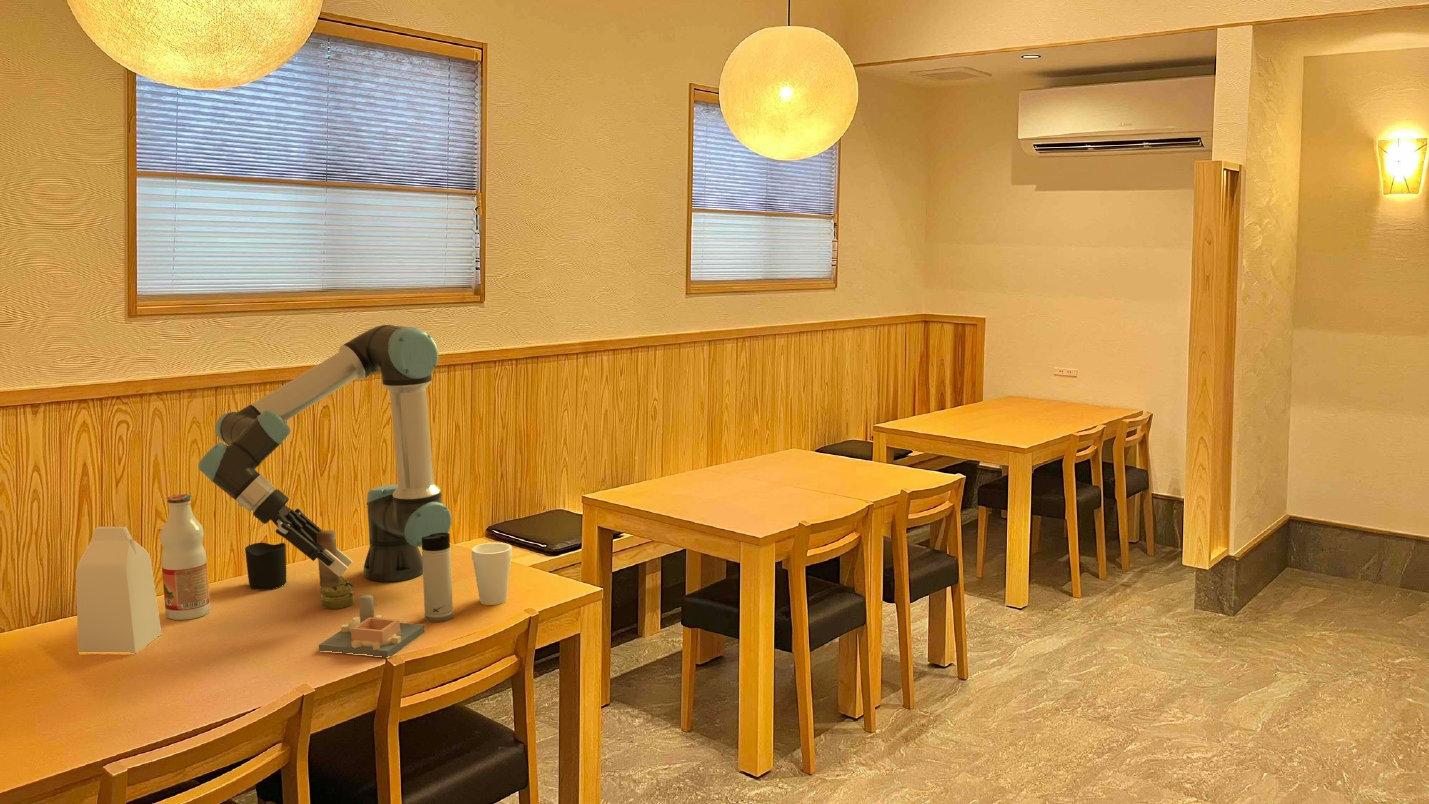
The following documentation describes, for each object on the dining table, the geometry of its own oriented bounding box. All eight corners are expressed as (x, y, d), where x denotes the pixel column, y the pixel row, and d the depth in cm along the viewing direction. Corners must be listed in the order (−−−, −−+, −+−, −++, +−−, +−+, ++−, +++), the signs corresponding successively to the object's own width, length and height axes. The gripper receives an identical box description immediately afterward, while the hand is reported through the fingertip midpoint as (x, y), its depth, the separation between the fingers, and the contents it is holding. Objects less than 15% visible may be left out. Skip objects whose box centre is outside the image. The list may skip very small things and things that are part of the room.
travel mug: (440, 624, 256) (436, 538, 253) (419, 619, 260) (415, 534, 256) (459, 616, 261) (456, 532, 258) (439, 611, 265) (435, 528, 262)
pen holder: (278, 577, 291) (275, 539, 289) (294, 585, 284) (292, 546, 283) (241, 585, 284) (238, 546, 283) (257, 593, 278) (254, 554, 276)
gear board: (360, 625, 256) (358, 587, 254) (425, 631, 252) (423, 593, 251) (319, 652, 240) (316, 612, 239) (387, 658, 236) (385, 618, 235)
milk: (78, 654, 239) (67, 534, 235) (107, 635, 250) (96, 520, 246) (135, 654, 239) (125, 534, 235) (161, 635, 250) (152, 520, 246)
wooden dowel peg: (326, 581, 256) (322, 529, 254) (342, 582, 255) (338, 530, 253) (316, 587, 253) (312, 534, 251) (332, 588, 252) (328, 535, 250)
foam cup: (518, 594, 276) (516, 543, 274) (507, 607, 267) (505, 554, 265) (480, 593, 277) (478, 542, 275) (468, 606, 268) (466, 553, 266)
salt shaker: (359, 604, 270) (357, 563, 268) (330, 612, 265) (328, 570, 263) (343, 597, 275) (341, 557, 273) (315, 604, 270) (312, 564, 268)
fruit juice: (199, 621, 259) (190, 501, 254) (158, 621, 259) (148, 501, 254) (217, 607, 268) (208, 491, 264) (177, 607, 268) (168, 491, 264)
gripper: (262, 502, 258) (342, 569, 262) (240, 523, 241) (326, 593, 246) (285, 479, 257) (364, 546, 262) (264, 497, 241) (350, 569, 245)
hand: (346, 569), depth 254 cm, fingers closed on wooden dowel peg, 4 cm apart
